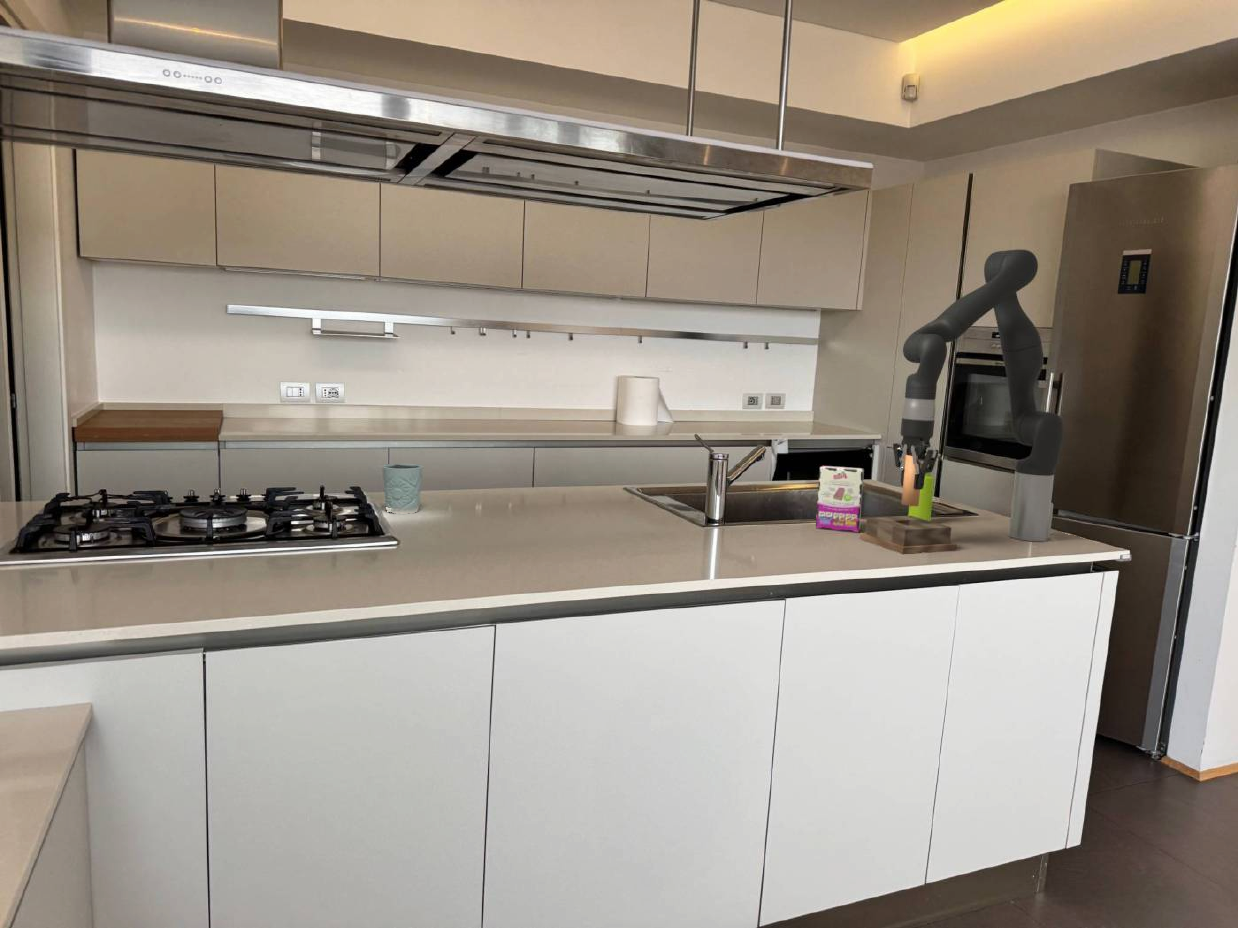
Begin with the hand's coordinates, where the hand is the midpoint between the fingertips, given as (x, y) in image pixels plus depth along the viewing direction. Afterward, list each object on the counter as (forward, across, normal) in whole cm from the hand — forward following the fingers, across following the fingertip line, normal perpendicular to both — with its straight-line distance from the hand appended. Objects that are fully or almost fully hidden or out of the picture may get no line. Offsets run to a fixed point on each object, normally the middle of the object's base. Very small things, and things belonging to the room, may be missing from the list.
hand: (911, 487), depth 215 cm
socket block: (+14, 0, 0) cm, 14 cm away
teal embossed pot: (+15, +63, +112) cm, 129 cm away
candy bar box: (+15, +19, +6) cm, 25 cm away
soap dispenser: (+14, +21, -23) cm, 34 cm away
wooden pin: (+4, 0, 0) cm, 4 cm away
